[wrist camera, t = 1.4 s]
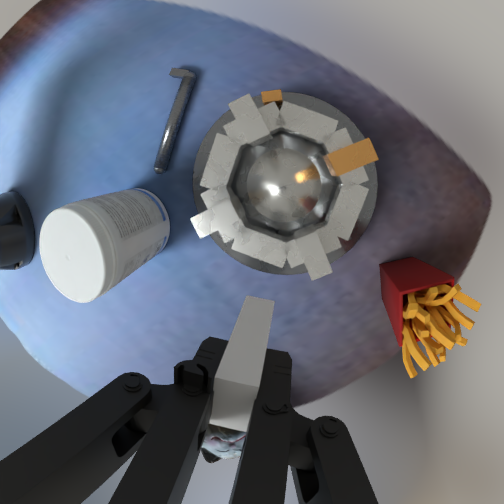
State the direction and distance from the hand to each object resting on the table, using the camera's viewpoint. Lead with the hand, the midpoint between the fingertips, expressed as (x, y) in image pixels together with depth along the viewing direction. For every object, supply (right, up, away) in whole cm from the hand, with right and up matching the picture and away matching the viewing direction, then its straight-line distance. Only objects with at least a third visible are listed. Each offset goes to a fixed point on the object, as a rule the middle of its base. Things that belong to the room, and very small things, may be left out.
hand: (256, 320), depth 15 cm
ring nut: (+3, +11, +13) cm, 17 cm away
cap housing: (+4, +12, +16) cm, 20 cm away
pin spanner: (-10, +20, +16) cm, 27 cm away
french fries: (+19, 0, +18) cm, 26 cm away
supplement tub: (-15, +7, +21) cm, 27 cm away
